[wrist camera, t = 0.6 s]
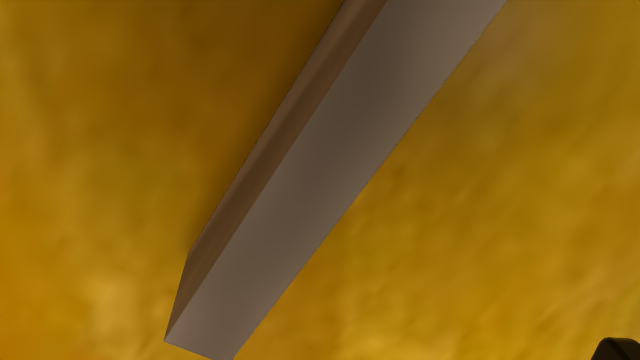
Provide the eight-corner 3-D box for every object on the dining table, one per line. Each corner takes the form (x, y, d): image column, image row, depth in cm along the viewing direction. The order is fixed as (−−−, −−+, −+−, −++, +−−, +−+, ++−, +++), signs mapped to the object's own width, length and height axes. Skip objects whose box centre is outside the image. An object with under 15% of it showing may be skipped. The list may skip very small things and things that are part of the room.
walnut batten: (580, -213, 16) (677, -222, 12) (241, 272, 25) (227, 365, 21) (510, -272, 15) (588, -306, 11) (189, 250, 24) (163, 341, 20)
